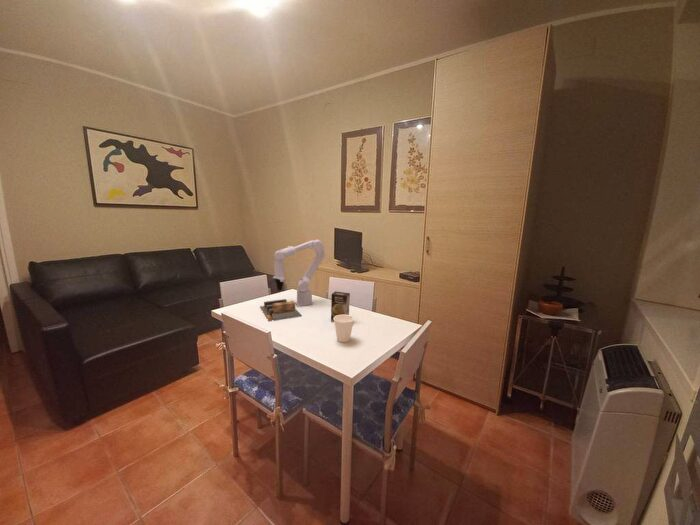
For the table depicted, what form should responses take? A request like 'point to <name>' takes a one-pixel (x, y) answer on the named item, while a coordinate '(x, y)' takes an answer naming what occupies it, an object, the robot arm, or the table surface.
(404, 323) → the table surface
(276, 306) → the brown wooden block
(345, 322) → the cup
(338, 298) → the coffee box
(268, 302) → the rack
